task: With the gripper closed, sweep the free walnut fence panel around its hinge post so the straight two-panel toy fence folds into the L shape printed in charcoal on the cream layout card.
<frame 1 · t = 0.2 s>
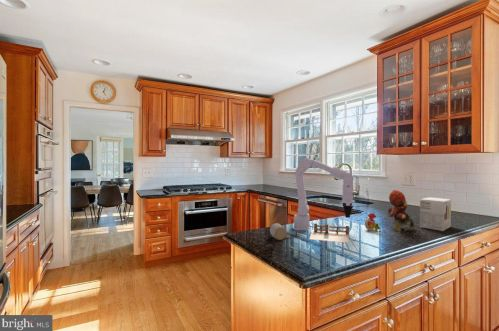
hand: (347, 216, 158), 10 cm above the counter, tool pointing down, fingers open, 7 cm apart
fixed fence: (326, 232, 156), resting on layout card
ceramic mug: (280, 238, 147), on the counter
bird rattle: (371, 230, 163), on the counter
stuffed monkey: (401, 229, 166), on the counter
folding fence panel: (339, 229, 154), point 3 cm above the counter, hinge at 0.0°
supplement box: (435, 227, 172), on the counter
layout card: (329, 236, 151), on the counter
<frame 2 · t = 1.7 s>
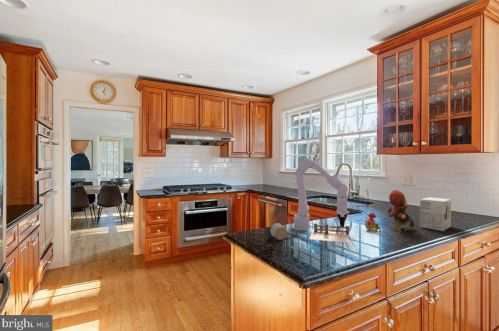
hand: (342, 226, 159), 3 cm above the counter, tool pointing down, fingers closed
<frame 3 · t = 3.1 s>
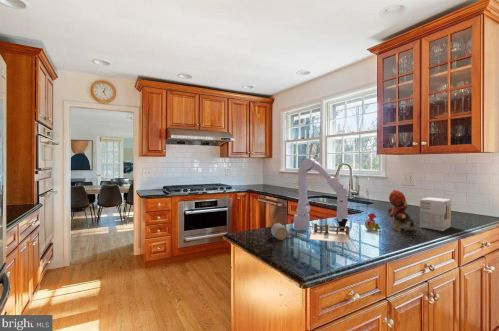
hand: (342, 231, 155), 2 cm above the counter, tool pointing down, fingers closed
folding fence panel: (339, 229, 154), point 3 cm above the counter, hinge at -0.9°, touching gripper
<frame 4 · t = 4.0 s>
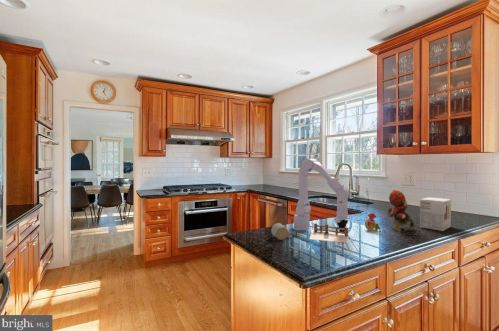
hand: (342, 232, 152), 2 cm above the counter, tool pointing down, fingers closed
folding fence panel: (338, 230, 152), point 3 cm above the counter, hinge at -20.6°, touching gripper
everything else where it was.
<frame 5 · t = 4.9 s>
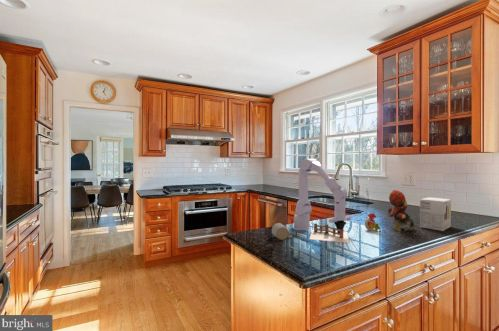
hand: (339, 234, 149), 2 cm above the counter, tool pointing down, fingers closed
folding fence panel: (335, 231, 150), point 3 cm above the counter, hinge at -44.9°, touching gripper
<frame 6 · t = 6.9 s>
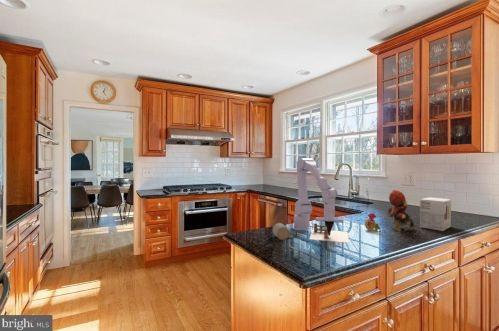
hand: (329, 235, 147), 2 cm above the counter, tool pointing down, fingers closed
folding fence panel: (326, 231, 149), point 3 cm above the counter, hinge at -90.4°, touching gripper
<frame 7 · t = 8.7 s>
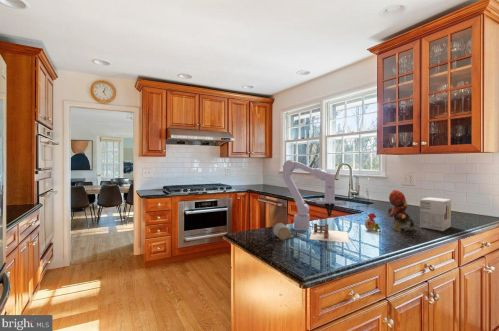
hand: (329, 216, 161), 9 cm above the counter, tool pointing down, fingers closed
folding fence panel: (326, 231, 149), point 3 cm above the counter, hinge at -90.6°
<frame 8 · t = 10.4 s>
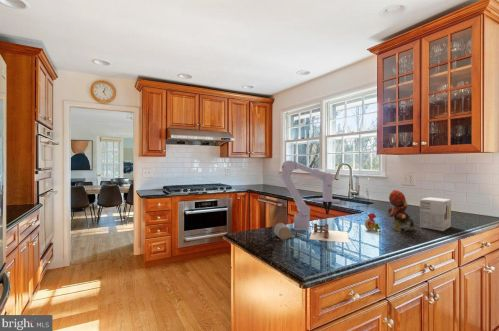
hand: (327, 214, 166), 9 cm above the counter, tool pointing down, fingers closed
at the end: folding fence panel at -91° (first picture: +0°); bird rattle moved 0.3 cm from its start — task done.
